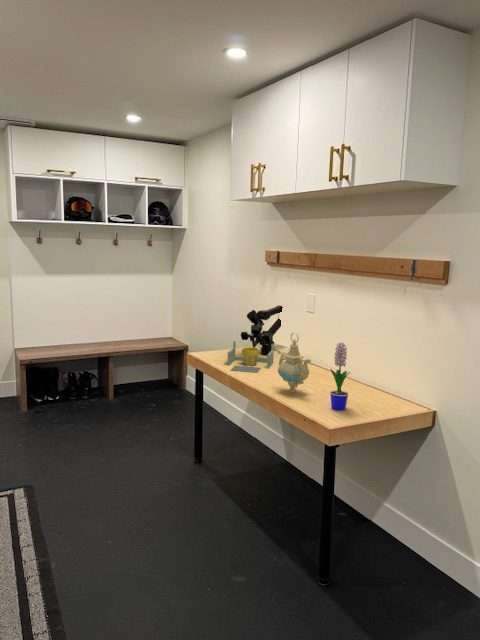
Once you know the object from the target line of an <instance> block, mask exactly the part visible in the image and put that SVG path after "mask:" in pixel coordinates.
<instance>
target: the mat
mask: <svg viewBox="0 0 480 640" xmlns="http://www.w3.org/2000/svg"><path fill="white" fill-rule="evenodd" d="M261 369H262V367H258V366H257V367H256V366H247V365H243V366H242V365H234V366H233V367H232V368H231V369H230V372H238V371H239V372H241V373H251V374H252V373H254V374H258V373H259V372H260V371H261Z"/></svg>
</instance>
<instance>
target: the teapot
mask: <svg viewBox="0 0 480 640" xmlns="http://www.w3.org/2000/svg"><path fill="white" fill-rule="evenodd" d="M294 334H295V335H296V337H297V340H296V339H295V338H294V339H293V335H294ZM290 341H291V342H292V343H291V344H290V345H289V347H290V348H289V349H288V350H289V351H288V352H287V353H286V354H285V352H284V351H283V350H282V349H279V350H278V351H277V354H278V355H279V354H280V358H279V361H278V367H277V373H278V375H279V376H280V377H281V378H282V381H284V382H287V384H288V386H289V387H290V388H289V390H290V392H291V393H295V392H296V389H297V388H298V385H299V386H301V385H303V384H304V383H305V382H304V381H305V380H307V379H308V377H309V375H310V370H309V365H308V364H310V363H312V360H311V358H307V359H305V360H303V359H304V358H305V357H304V356H303V355H301V352H299V351H300V349H299V343H298V342H299V334H298V333H296V332H292V333H291V335H290Z"/></svg>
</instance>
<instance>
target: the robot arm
mask: <svg viewBox="0 0 480 640" xmlns="http://www.w3.org/2000/svg"><path fill="white" fill-rule="evenodd" d="M282 306H283V305H279V304H278V305H277V306H274V307H271V308H269V309H265V310H263V309H261V310H258V311H256V310H255V309H252V310H251V311H249V312H248V313H247V314H246V318H247V320H248V321H250V323H252V324H251V325H250V326H251V327H250V333H248V331H241V332H240V337H241V340H242V341H247V340H249V341H250V342H251V344H252V348H257V345H258V344H259V346H260V345H261V346H260V354H261V356H267V355H268V354H269V353H270V351H271V345H272V344H274V345H275V342H274V340H273V339H274V338H273V337H274V335H275V334H276V333H277V332H278V331H279V330H280V328H282V326H281V320H280V319H279V317H278V318H277V319H276V320H275V321H274V323H273V324H272V325H271V327H269V328H268V330H263V326H264V325H265V323H264V321H267V320H269V319H271V317H272V316H274V315H277V314H278V313H280V312H282V308H283V307H282Z"/></svg>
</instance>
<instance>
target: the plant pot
mask: <svg viewBox="0 0 480 640" xmlns="http://www.w3.org/2000/svg"><path fill="white" fill-rule="evenodd" d="M241 354H242V357H244V361H243V362H244V366H246V367H255V366H256V365H257V362H256V361H257V358H259V357H258V356H259V355H260V349H259V348H258V347H255V348H253V346H251V347H248V346H247V347H243V348H241Z"/></svg>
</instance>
